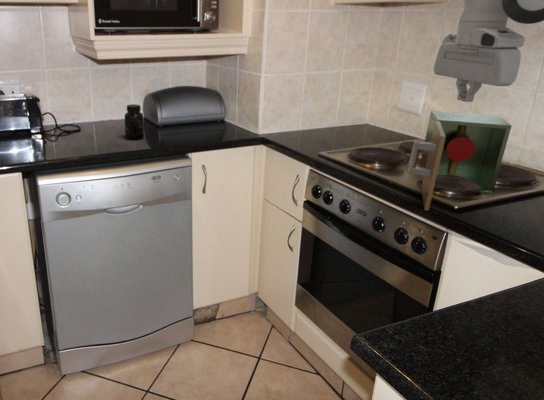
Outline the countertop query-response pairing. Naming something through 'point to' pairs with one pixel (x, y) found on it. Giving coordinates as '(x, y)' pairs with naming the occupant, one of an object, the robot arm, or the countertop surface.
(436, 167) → the door
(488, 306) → the countertop surface
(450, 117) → the valve cabinet
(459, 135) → the valve
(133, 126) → the supplement bottle
